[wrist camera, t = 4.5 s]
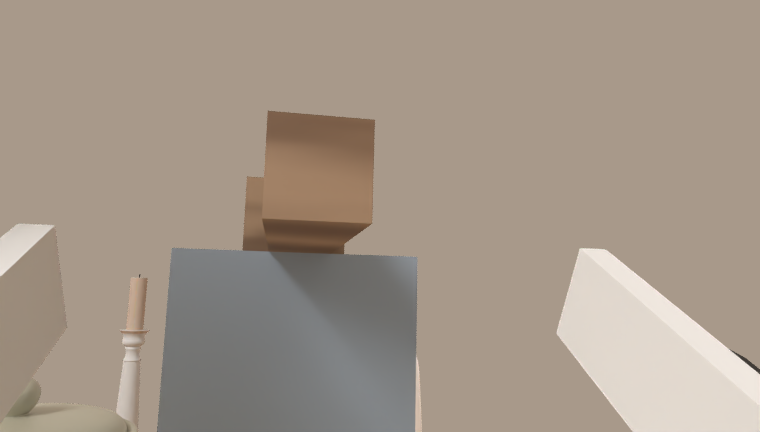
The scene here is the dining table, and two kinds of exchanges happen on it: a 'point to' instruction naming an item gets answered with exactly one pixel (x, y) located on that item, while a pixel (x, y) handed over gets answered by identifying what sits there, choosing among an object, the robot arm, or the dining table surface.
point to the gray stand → (289, 342)
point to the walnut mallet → (311, 184)
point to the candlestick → (132, 352)
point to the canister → (60, 416)
